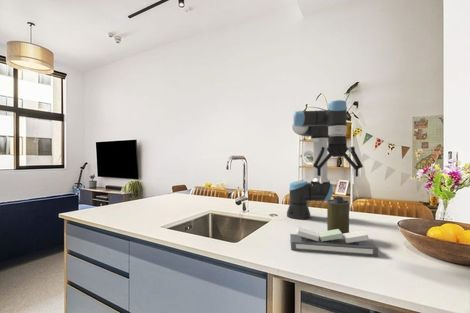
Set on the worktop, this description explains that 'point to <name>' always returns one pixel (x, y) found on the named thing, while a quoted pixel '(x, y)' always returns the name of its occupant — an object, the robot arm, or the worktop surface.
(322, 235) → the rocker mid
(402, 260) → the worktop surface
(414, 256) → the worktop surface
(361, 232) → the block
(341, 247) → the rocker switch panel
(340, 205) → the canister
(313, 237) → the block
